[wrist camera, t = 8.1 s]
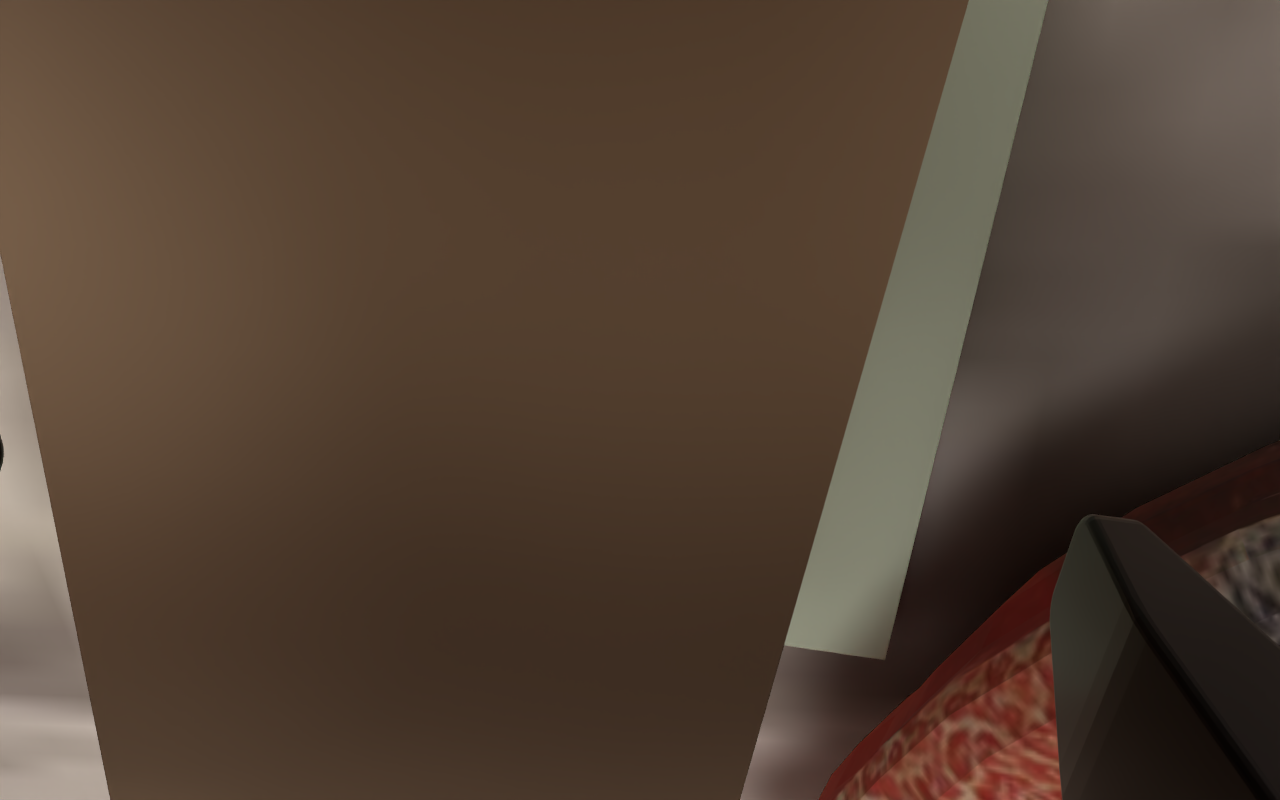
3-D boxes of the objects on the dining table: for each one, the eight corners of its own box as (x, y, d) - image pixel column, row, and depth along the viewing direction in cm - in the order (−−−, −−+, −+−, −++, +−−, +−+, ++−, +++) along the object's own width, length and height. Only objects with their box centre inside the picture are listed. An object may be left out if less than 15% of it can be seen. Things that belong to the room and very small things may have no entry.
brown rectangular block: (689, 751, 15) (631, 1178, 11) (351, 681, 15) (166, 1074, 11) (949, -348, 8) (1070, -358, 4) (336, -444, 8) (-164, -550, 4)
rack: (882, 623, 18) (892, 825, 15) (336, 545, 19) (236, 722, 16) (1151, -488, 10) (1285, -552, 7) (210, -540, 11) (-34, -619, 8)
